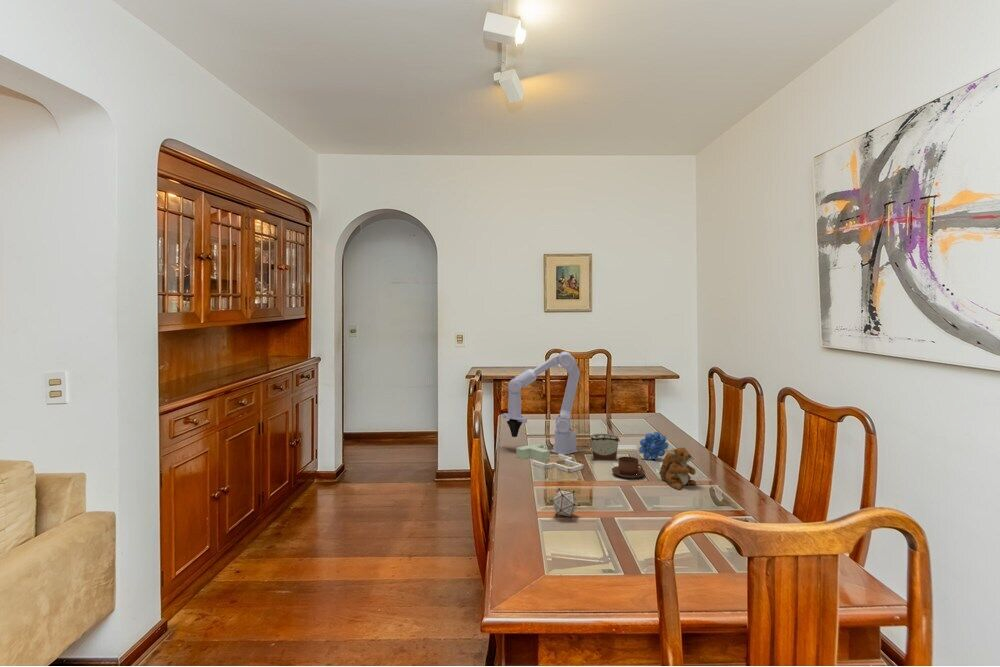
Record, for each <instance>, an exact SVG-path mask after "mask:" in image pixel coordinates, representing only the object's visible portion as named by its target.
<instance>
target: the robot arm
mask: <svg viewBox="0 0 1000 667" xmlns="http://www.w3.org/2000/svg"><path fill="white" fill-rule="evenodd" d="M559 366H561V367H562V368H563V369H565V371H566V373H567V374H568V377H567V381H566V386H565V390H564V394H563V395H564V396H563V398H562V404H561V407H560V410H559V413H558V414H559V415H557V417H556V418H555V430H554V449H551V450H549V451H550V452H552V453H554V454H557V455H558V454H561V455H565V456H567V455H568V454H573V453H578V452H579V451H578V450H577V436H576V433H575V432H574V430H571V421H570V420H571V415H572V409H573V404H574V402H575V397H576V393H577V388H578V383H579V380H580V375H581V371H580V368H579V366H578V363H577V361H576V359H575V357H574V356H573V355H572V354H571V353H570V352H569V351H561V352H560V353H558V354H555V355H553V356H551V357H550V358H548V359H546V360H545V361H543V363H541V364H540V365H537V367H535V368H533V369H531V368H529V369H524V370H523V372H522V373H521V374H519V375H518V376H517V375H516V376H514V378H512V379H511V380H510V381H509V382H508V384H507V389H508V396H507V398H508V399H507V401H508V402H507V405H508V406H507V407H508V408H507V412H508V413H506V412H505V413H502V419H507V421H506V423H507V425H508V427H509V430H510V434H511V437H512V438H516V437H518V434H519V431H520V428H521V426H522V424H527V423H528V417H525V416H522V394H521V392H522V391H521V390H522V388H526V387H527V386H529V385H530V384H532V383H534V382H535V381H536V380H537V376H539V375H541V374H542V373H544V372H546V371H547V370H549V369H550V368H553V367H556V368H557V367H559Z"/></svg>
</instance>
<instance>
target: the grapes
mask: <svg viewBox="0 0 1000 667" xmlns="http://www.w3.org/2000/svg"><path fill="white" fill-rule="evenodd" d="M666 441H667V436H666V435H662V434H661V433H660V432H659V431H655V432H653V433H651V432H650V433H649V432H648V433H646V434H645V436H644V438H642V439H640V440H639V445H640V446H639V448H638V449H639V450H638V452H639V453H641V454H643V458H644V459H645V458H648V459H650V460H652V459H656V460H657V459H658V458H659V457H665V455H666V451H665V450H668V448H669V443H668V442H666Z"/></svg>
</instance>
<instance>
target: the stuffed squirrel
mask: <svg viewBox="0 0 1000 667" xmlns="http://www.w3.org/2000/svg"><path fill="white" fill-rule="evenodd" d="M671 451H672V452H669V451H668V452H667V453H665V455H664V458H663V459H662V460H663V461H662V465H661V466H660V469H659V470H660V471H659V472H658V474H659V475H660V479H662V481H664V480H666V481H665V482H667V484H668V486H670V487H671V488H673V489H675V490H681V489H682V487H684V486H686V484H696V485H697V481H696V480H694V479H692V478H691V476H690V475H692V476H694V475H695V474H696V469H695V468H694V467H693V466H690V465H689V464H688V463H689V462H691V461H693V460H694V457H693V456H692V455H691V454H690V452H689V451H688V450H687V449H686V447H677V448H672V449H671ZM683 485H684V486H683Z"/></svg>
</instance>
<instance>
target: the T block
mask: <svg viewBox="0 0 1000 667" xmlns="http://www.w3.org/2000/svg"><path fill="white" fill-rule="evenodd" d="M515 449H516V450H515V452H516V453H515V454H516V456H515V457H516V458H517V457H518V459H520V458H521V460H526V459H531V460H532V459H533V460H535V461H538V462H541V463H544V462H549V461H551V455H550V454H551V453H550V452H551V451H550V450H549V449H546V448H544V444H541V443H533V444H527V445H524V446H519V447H516V448H515Z"/></svg>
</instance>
